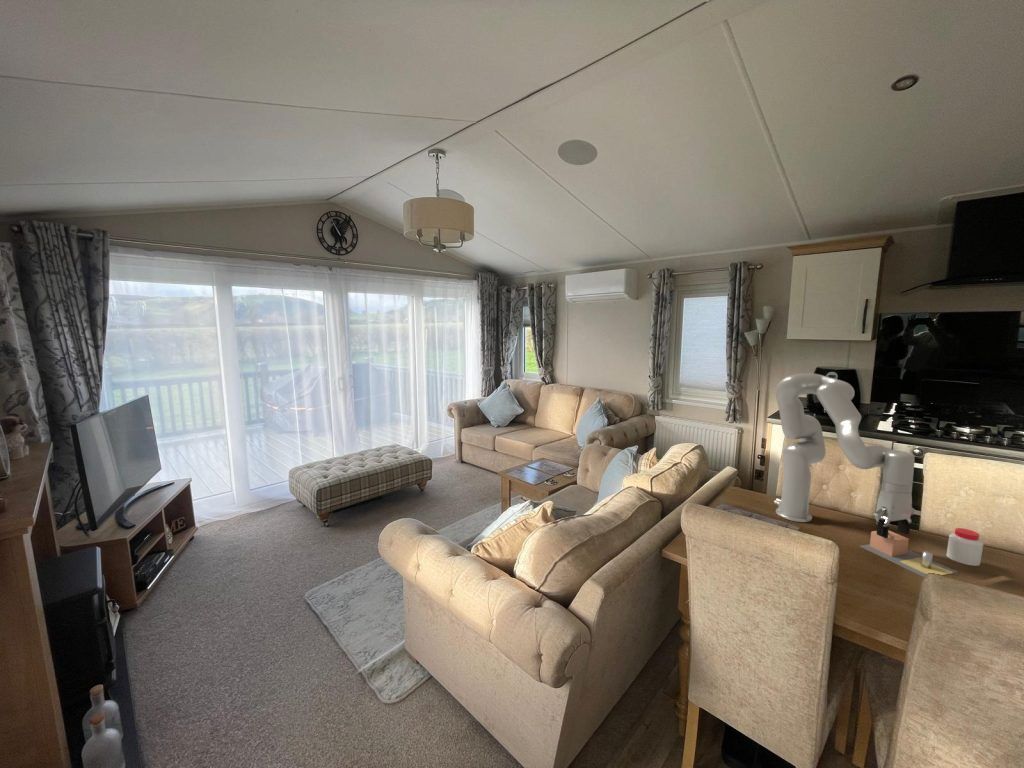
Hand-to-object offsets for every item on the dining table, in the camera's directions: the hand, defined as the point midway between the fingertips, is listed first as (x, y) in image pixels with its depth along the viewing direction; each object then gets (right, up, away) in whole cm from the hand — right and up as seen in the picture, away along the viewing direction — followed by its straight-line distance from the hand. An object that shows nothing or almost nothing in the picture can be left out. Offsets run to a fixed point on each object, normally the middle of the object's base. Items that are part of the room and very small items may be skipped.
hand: (892, 534), depth 143 cm
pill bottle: (+20, -8, -4) cm, 22 cm away
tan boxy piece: (0, -6, +2) cm, 6 cm away
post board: (+1, -8, -4) cm, 9 cm away
